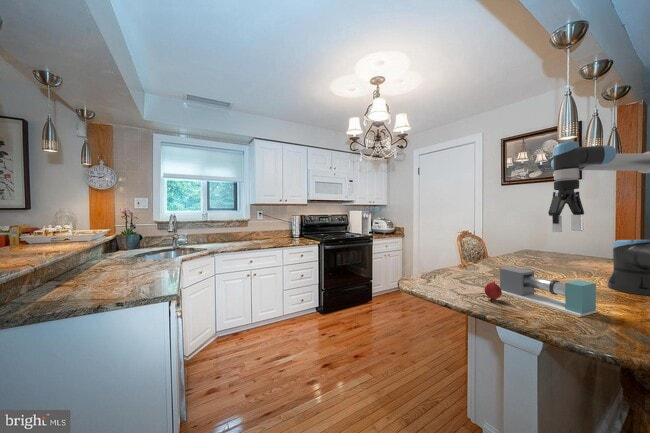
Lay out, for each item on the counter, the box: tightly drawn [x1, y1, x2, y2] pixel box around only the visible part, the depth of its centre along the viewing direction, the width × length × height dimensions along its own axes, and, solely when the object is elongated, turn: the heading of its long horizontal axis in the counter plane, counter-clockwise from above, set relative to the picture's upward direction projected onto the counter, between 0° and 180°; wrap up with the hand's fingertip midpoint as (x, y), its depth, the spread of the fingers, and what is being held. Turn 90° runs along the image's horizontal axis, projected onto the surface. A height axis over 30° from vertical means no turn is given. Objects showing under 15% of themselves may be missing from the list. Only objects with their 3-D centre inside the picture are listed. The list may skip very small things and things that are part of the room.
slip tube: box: [524, 275, 566, 297], centre depth 95 cm, size 19×6×6 cm, turn 20°
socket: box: [564, 279, 597, 314], centre depth 87 cm, size 9×4×10 cm, turn 110°
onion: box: [484, 280, 502, 301], centre depth 100 cm, size 6×6×8 cm
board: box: [501, 290, 599, 318], centre depth 98 cm, size 11×28×1 cm, turn 20°
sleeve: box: [499, 266, 535, 296], centre depth 107 cm, size 8×9×10 cm
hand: (566, 231), depth 101 cm, fingers open, 13 cm apart
